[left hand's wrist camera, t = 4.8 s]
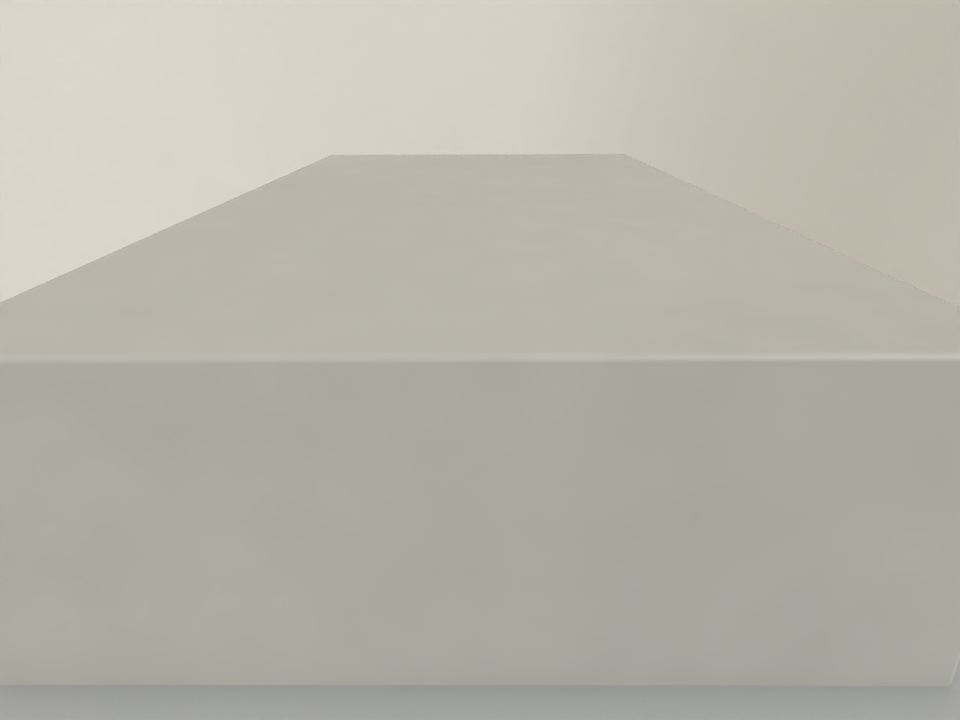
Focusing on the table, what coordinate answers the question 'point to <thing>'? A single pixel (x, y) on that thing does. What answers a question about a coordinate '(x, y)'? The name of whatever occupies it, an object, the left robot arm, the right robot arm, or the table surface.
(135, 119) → the table surface
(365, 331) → the box
